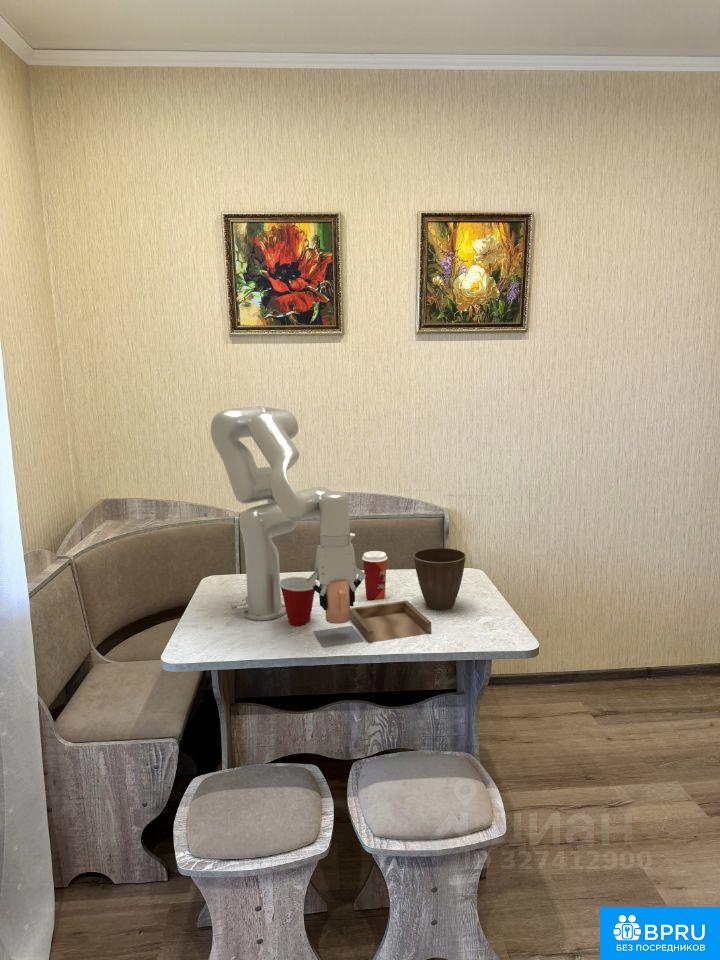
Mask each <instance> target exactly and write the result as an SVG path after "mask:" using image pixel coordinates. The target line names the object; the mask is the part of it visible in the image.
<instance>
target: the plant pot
mask: <svg viewBox="0 0 720 960" xmlns="http://www.w3.org/2000/svg"><path fill="white" fill-rule="evenodd" d="M413 560H414V567H415V572H416V576H417V581H418V585H419V589H420V591H421V594H422V597H423V600H424V603H425V605H426V607H427V609H430V610H433V611H439V612H440V611H448V610H452V609H454V606H455V603H456V601H457V598H458V594H459V591H460V589H461V586H462V585H461V584H462V580H463V576H464V570H465V562H466V553H465V552H463V551H462V550H458V549H455V548H447V547H434V548H433V547H431V548H425V549H420V550H417V551H416V552H414V553H413Z"/></svg>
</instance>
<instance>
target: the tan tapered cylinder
mask: <svg viewBox="0 0 720 960" xmlns="http://www.w3.org/2000/svg"><path fill="white" fill-rule="evenodd" d="M325 595H326V596H327V610H324V611H325V621H326V622H327V623H329V624H334V625H339V624H345V623H348V622H349V621H350V622H351V620H350V608H351V606H350V592H349V582H348V580H343V581H336V582H329V585H327V589H326V592H325Z"/></svg>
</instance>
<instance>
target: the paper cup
mask: <svg viewBox="0 0 720 960" xmlns="http://www.w3.org/2000/svg"><path fill="white" fill-rule="evenodd" d="M361 559H362V562H363V573H365V574H366V577H365V578H364V585H365V587H364V588H365V597H366V600H367V601H371V602H372V601H378V600H384V599H385V597H386V581H387V580H386V579H387V560H388V556H387V553H386V552H384V551H381V550H380V551H379V550H372V551H371V550H369V551H366V552H364V553H363V555H362V557H361Z"/></svg>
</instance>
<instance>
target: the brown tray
mask: <svg viewBox="0 0 720 960" xmlns="http://www.w3.org/2000/svg"><path fill="white" fill-rule="evenodd" d="M350 622H351V623H352V624H353V625H354V627H355V628H356V630H358V632H359V633H360V635H362V636H363V638H364V639H365V641H367V643H368V644H371V643H377V642H378V643H379V642H383V641H391V640H396V639H397V640H398V639H404V638H410V637H417V636H422V635H423V636H424V635H430V634H432V622H431V620H430V619H428V617H426V616H425V615H424V614H423V613H422V612H420V611H419V610H418V608H416V607H415V606H414V605H413V604H411V603H410V602H409V601H408V600H401V601H393V602H392V601H391V602H386V603H378V604H377V603H376V604H371V605H365V606H362V605H361V606H355V607H350Z"/></svg>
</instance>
